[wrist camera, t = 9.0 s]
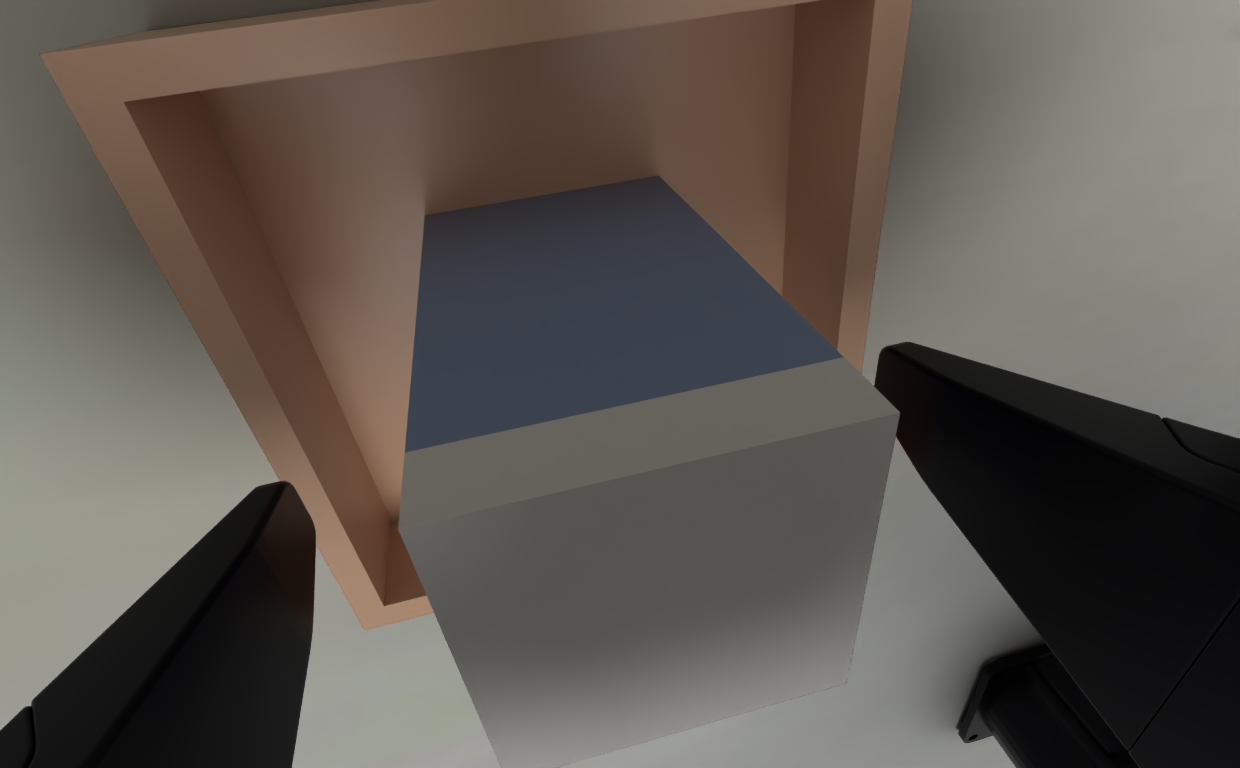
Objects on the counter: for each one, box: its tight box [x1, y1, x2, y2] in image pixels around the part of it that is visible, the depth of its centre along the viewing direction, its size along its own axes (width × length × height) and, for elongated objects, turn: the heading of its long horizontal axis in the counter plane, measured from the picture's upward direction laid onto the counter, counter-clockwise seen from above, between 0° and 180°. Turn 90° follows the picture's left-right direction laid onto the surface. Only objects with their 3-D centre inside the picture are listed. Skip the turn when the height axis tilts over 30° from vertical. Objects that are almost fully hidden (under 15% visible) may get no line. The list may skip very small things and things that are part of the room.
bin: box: [39, 0, 913, 630], centre depth 12 cm, size 11×11×3 cm
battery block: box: [398, 176, 900, 768], centre depth 10 cm, size 4×4×8 cm
